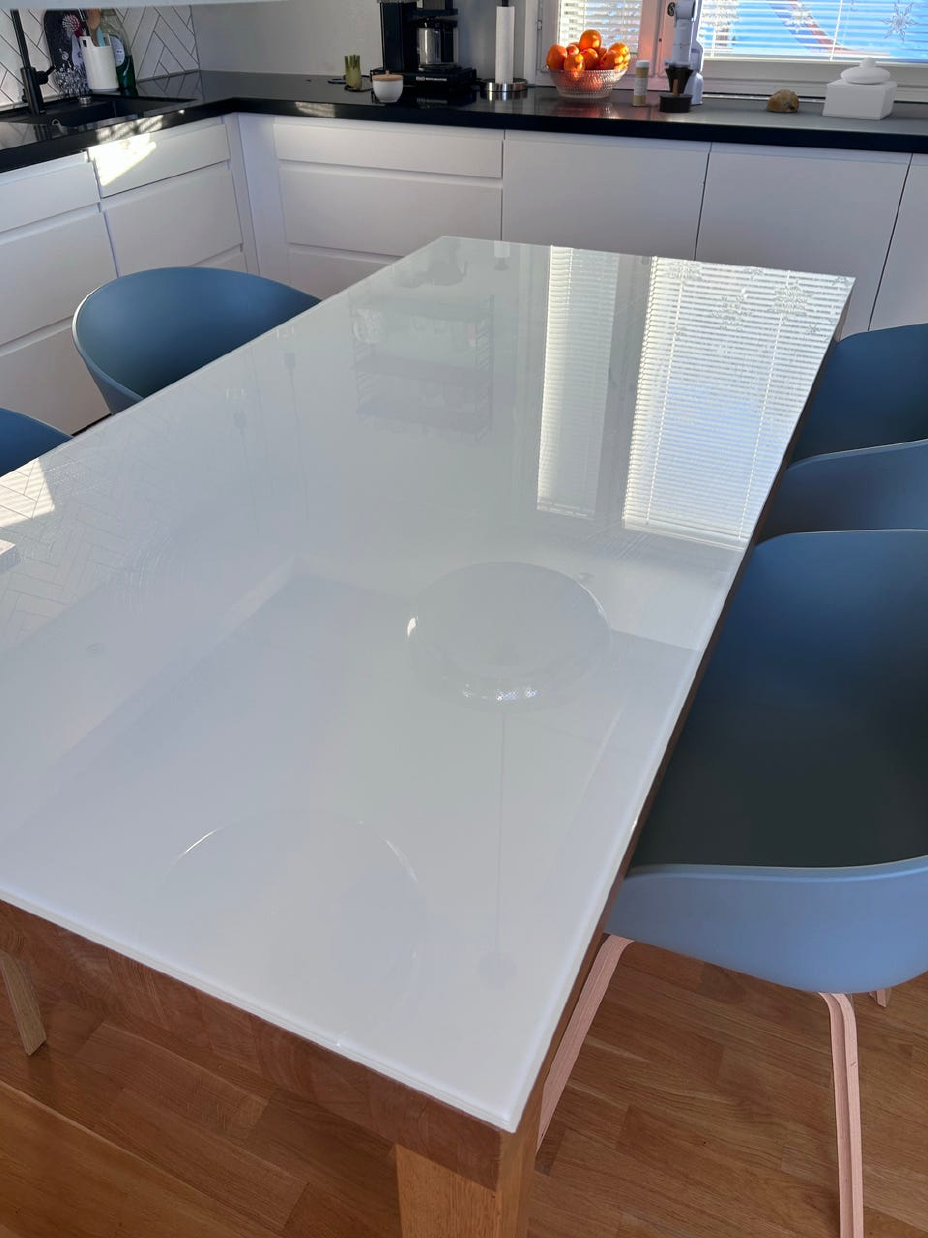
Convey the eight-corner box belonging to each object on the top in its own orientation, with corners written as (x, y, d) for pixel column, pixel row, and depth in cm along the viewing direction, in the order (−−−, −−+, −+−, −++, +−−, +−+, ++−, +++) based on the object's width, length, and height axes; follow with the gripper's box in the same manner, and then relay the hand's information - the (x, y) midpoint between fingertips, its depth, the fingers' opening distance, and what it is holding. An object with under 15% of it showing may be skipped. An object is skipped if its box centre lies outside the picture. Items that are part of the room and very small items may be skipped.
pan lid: (669, 96, 317) (671, 76, 314) (699, 98, 312) (701, 79, 308) (652, 99, 310) (654, 79, 307) (682, 101, 305) (684, 82, 301)
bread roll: (774, 125, 310) (786, 101, 303) (757, 106, 314) (768, 82, 307) (797, 122, 313) (809, 99, 307) (780, 104, 318) (791, 80, 311)
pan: (668, 107, 319) (670, 94, 316) (696, 110, 313) (697, 96, 311) (653, 110, 312) (654, 97, 310) (680, 113, 307) (682, 99, 305)
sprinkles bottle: (638, 104, 325) (642, 59, 318) (648, 105, 323) (653, 60, 315) (629, 105, 323) (633, 60, 315) (639, 107, 320) (643, 61, 312)
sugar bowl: (404, 98, 340) (403, 68, 335) (403, 102, 331) (402, 72, 326) (374, 99, 340) (372, 69, 335) (372, 103, 331) (371, 72, 326)
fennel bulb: (345, 91, 360) (343, 54, 353) (349, 89, 364) (346, 53, 357) (360, 91, 359) (358, 54, 352) (363, 89, 363) (361, 53, 356)
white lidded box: (879, 119, 294) (892, 60, 285) (820, 115, 302) (831, 57, 293) (891, 112, 306) (904, 55, 297) (834, 109, 314) (845, 53, 305)
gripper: (657, 43, 306) (652, 91, 313) (687, 46, 295) (682, 95, 303) (674, 42, 308) (669, 89, 316) (704, 45, 298) (698, 94, 306)
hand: (676, 92), depth 310 cm, fingers open, 3 cm apart
